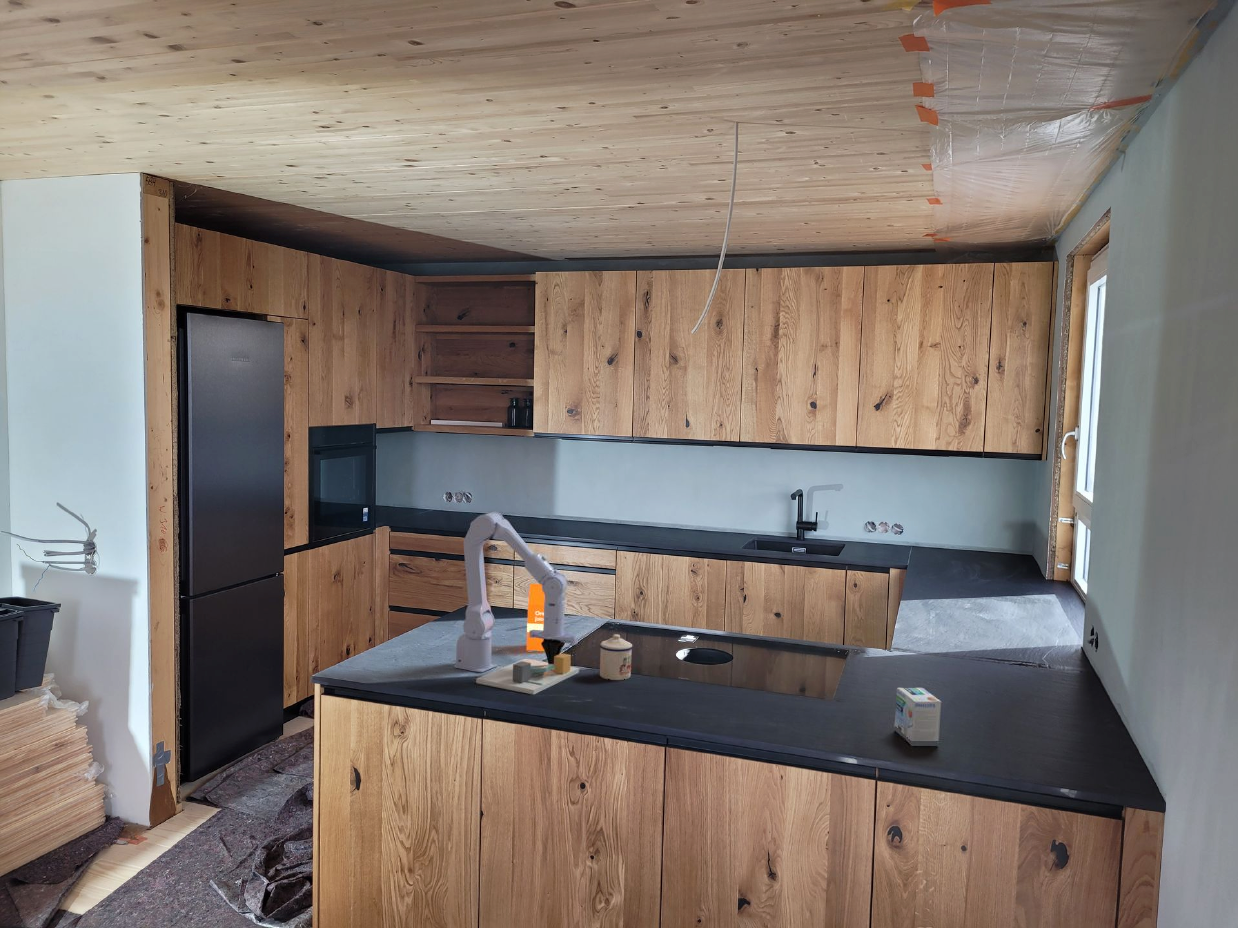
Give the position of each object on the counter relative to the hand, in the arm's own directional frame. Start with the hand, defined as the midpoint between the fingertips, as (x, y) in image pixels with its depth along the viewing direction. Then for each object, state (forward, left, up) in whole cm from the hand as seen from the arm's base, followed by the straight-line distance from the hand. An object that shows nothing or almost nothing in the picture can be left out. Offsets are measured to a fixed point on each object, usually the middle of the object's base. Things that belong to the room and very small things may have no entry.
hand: (552, 666), depth 255 cm
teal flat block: (-1, -7, +1) cm, 7 cm away
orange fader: (+3, 0, -1) cm, 3 cm away
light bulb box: (+97, +3, -3) cm, 97 cm away
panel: (-4, -6, -2) cm, 7 cm away
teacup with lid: (+15, +10, -3) cm, 18 cm away
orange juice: (-17, +22, -3) cm, 28 cm away
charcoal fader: (-2, -13, -1) cm, 13 cm away
